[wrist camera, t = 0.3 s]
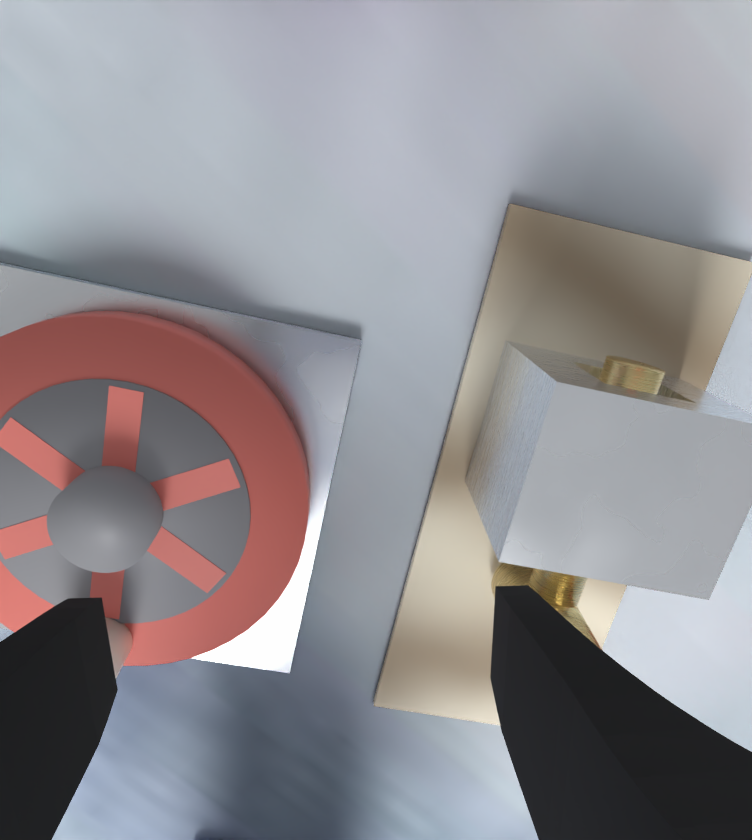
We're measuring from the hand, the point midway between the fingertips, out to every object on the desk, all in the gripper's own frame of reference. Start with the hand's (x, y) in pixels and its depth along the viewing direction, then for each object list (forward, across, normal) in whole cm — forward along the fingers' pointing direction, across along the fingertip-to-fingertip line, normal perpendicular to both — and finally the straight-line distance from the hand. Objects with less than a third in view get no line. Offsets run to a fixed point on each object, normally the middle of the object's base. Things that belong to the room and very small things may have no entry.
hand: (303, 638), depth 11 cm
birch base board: (+10, -8, +2) cm, 13 cm away
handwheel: (+10, +7, +1) cm, 12 cm away
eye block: (+10, -8, 0) cm, 13 cm away
